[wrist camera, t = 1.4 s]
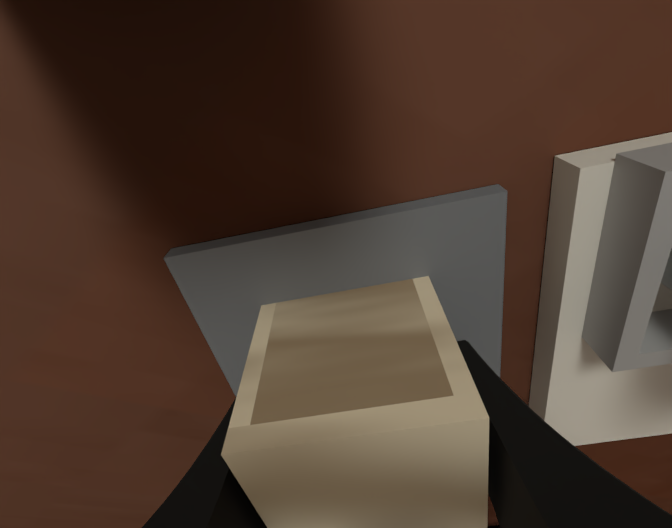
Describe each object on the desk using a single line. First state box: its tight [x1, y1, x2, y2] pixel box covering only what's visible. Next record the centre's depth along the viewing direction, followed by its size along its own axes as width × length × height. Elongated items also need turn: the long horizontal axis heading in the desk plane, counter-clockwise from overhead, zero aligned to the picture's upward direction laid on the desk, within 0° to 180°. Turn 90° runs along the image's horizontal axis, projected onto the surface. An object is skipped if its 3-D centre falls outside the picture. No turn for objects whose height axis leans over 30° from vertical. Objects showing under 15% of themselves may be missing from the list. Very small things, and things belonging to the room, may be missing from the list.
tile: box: [164, 184, 507, 397], centre depth 12 cm, size 10×10×2 cm
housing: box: [221, 276, 489, 528], centre depth 11 cm, size 5×5×5 cm
